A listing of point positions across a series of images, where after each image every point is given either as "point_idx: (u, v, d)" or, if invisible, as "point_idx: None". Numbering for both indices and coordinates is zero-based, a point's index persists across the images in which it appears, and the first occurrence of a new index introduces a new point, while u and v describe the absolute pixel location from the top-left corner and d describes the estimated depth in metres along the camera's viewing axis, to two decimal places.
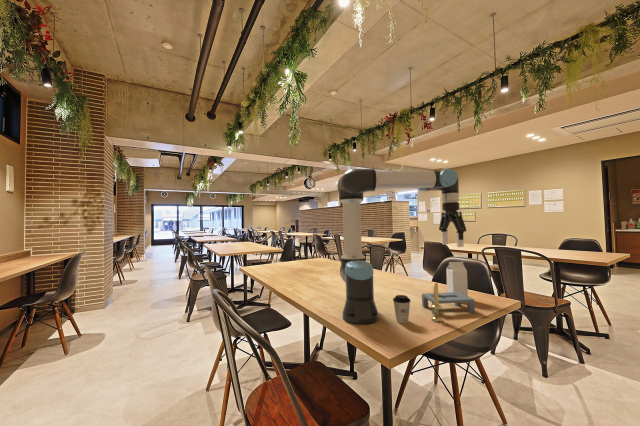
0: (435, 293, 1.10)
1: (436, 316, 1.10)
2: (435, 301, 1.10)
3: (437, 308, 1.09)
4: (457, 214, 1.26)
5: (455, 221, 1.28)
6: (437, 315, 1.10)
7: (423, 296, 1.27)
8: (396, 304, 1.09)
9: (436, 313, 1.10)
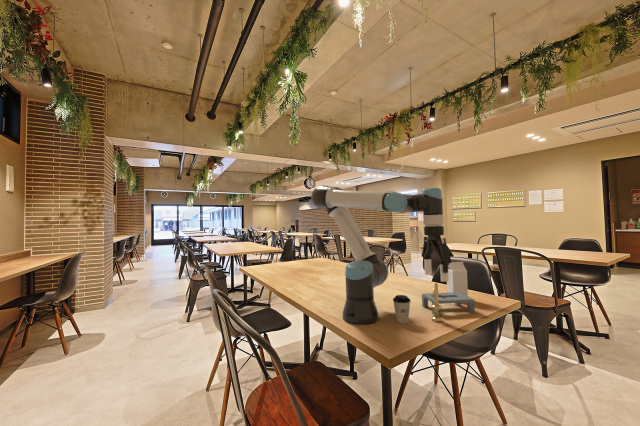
0: (435, 293, 1.10)
1: (436, 316, 1.10)
2: (435, 301, 1.10)
3: (437, 308, 1.09)
4: (440, 241, 1.04)
5: (438, 249, 1.06)
6: (437, 315, 1.10)
7: (423, 296, 1.27)
8: (396, 304, 1.09)
9: (436, 313, 1.10)
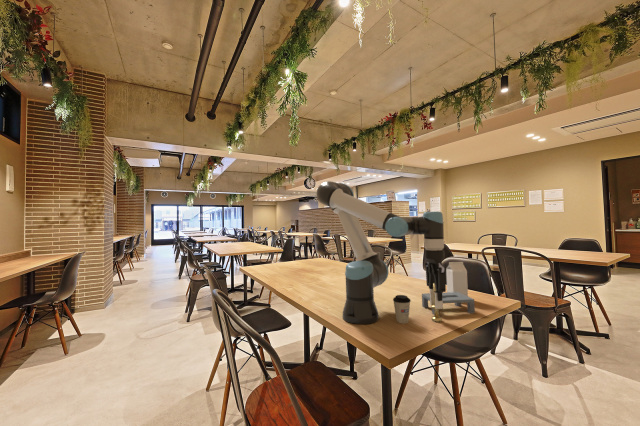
0: None
1: (436, 316, 1.10)
2: None
3: None
4: (440, 271, 1.05)
5: (437, 276, 1.08)
6: (437, 315, 1.10)
7: (423, 296, 1.27)
8: (396, 304, 1.09)
9: (436, 313, 1.10)
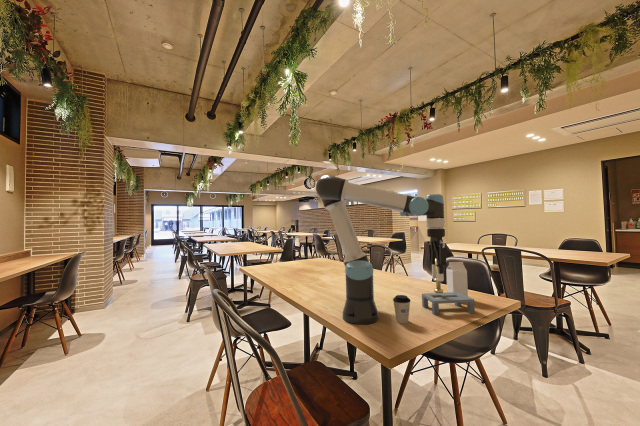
0: None
1: (438, 288, 1.22)
2: None
3: None
4: (441, 246, 1.17)
5: (438, 252, 1.21)
6: (439, 287, 1.22)
7: (423, 296, 1.27)
8: (396, 304, 1.09)
9: (438, 285, 1.22)
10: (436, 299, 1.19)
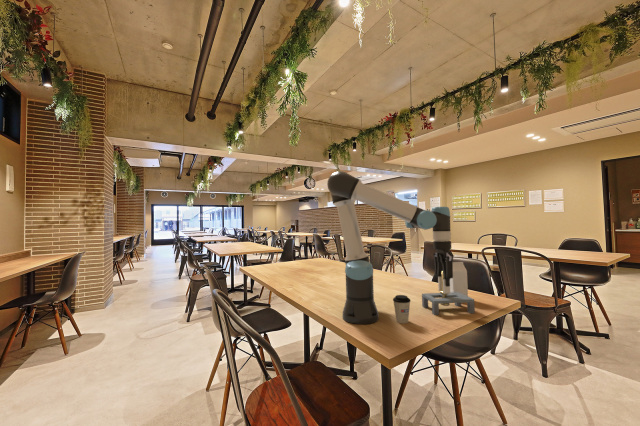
0: None
1: None
2: None
3: None
4: (448, 259, 1.17)
5: (444, 264, 1.21)
6: None
7: (423, 296, 1.27)
8: (396, 304, 1.09)
9: None
10: (436, 299, 1.19)
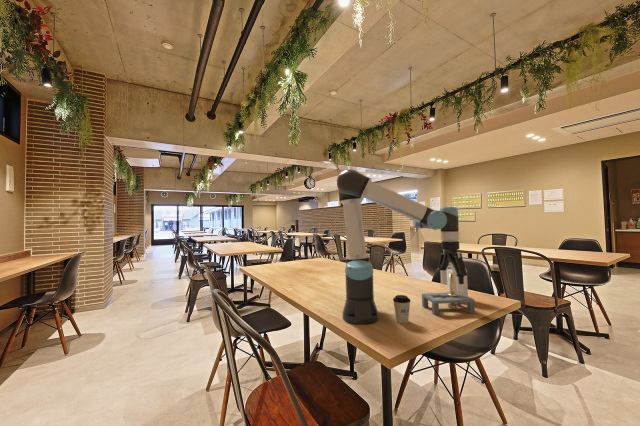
0: (451, 282, 1.23)
1: (452, 303, 1.22)
2: (451, 290, 1.23)
3: (453, 296, 1.21)
4: (457, 256, 1.17)
5: (455, 262, 1.19)
6: None
7: (423, 296, 1.27)
8: (396, 304, 1.09)
9: None
10: (436, 299, 1.19)
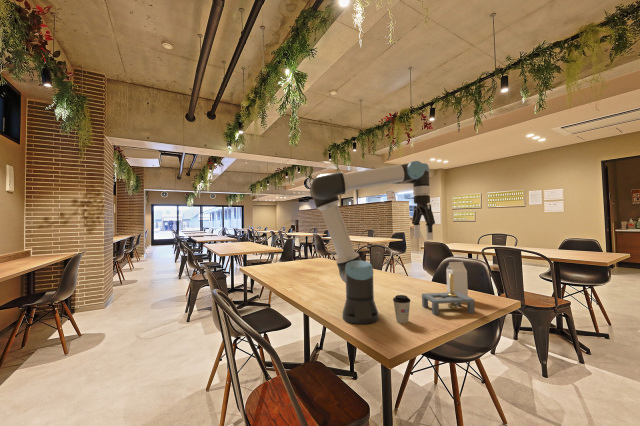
0: (451, 282, 1.23)
1: (452, 303, 1.22)
2: (451, 290, 1.23)
3: (453, 296, 1.21)
4: (426, 207, 1.26)
5: (425, 214, 1.28)
6: None
7: (423, 296, 1.27)
8: (396, 304, 1.09)
9: None
10: (436, 299, 1.19)
